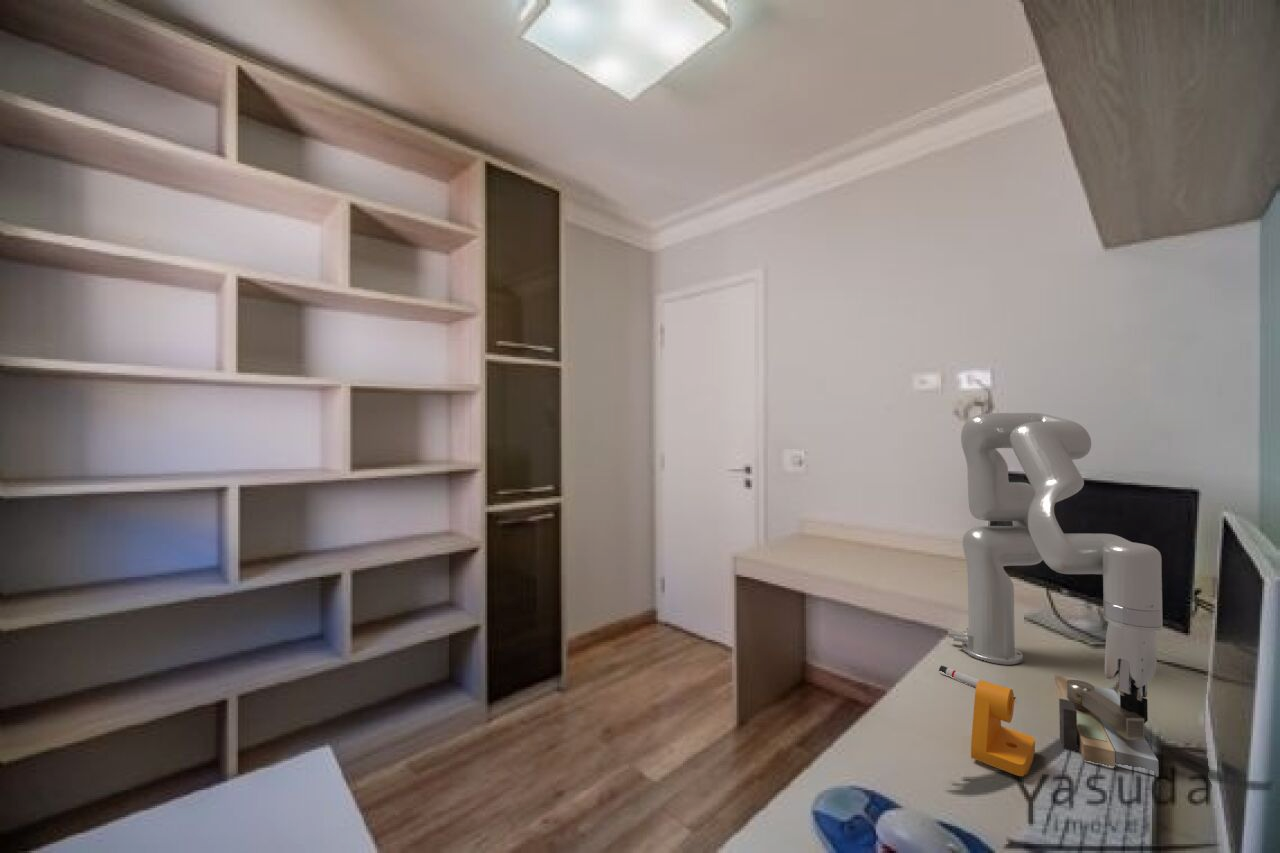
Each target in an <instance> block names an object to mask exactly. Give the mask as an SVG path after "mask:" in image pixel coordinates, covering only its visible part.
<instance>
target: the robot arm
mask: <svg viewBox="0 0 1280 853" xmlns="http://www.w3.org/2000/svg"><path fill="white" fill-rule="evenodd" d="M960 440H961V441H960V442H961V447H962V451H963V455H964V457H965V461H966V468H967V497H968V498H967V499H968V500H967V501H968V508H969V512H970V514H971V515H972V516H973V518H975V519H977V520H979V521H980V520H981V521H983V522H985V521H986V522H988V521H989V522H1012V525H1009V526H1008V525H1007V526H1005V525H1004V526H1003V525H982V526H977V527H973V528H970V529H969V530H967V531H966V532H964V535H963V537H962V548H963V552H964V558H965V562H966V569H967V595H968V597H967V601H968V602H967V603H968V604H967V605H968V607H967V609H968V610H967V613H968V615H967V616H968V628H966V630H962V631H956V630H953V629H948V630H947V638H949V639H950V638H951V639H953V641H955V642H957V643H958V642H961V649H962V648H963V650H964V651H966V652H967V653H968V654H970V655H972V656H973V657H972V656H971V657H972V658H974V657H975V658H974V659H977V658H978V659H977V660H979V659H981V660H980V661H982V660H984V661H983V662H986V661H987V663H990V662H991V663H990V664H997V665H1005V666H1006V665H1017V664H1020V663H1022V662H1023V661H1024V655H1023V653H1022V652H1021V651H1020V650H1019V649H1017V648H1016V644H1015V643H1016V641H1015V639H1016V638H1015V635H1016V634H1015V626H1016V624H1015V587H1014V583H1013V581H1012V579H1011V577H1010V576H1009V574H1008V573H1007V572H1006V571H1005V569H1004V567H1009V566H1035V565H1038V564H1040V563H1041V562H1042V561H1043V562H1044V563H1045V564H1046V565H1047V567H1049V569H1051V570H1053V571H1054V572H1056V573H1059V574H1064V575H1102V579H1103V580H1102V583H1103V584H1102V585H1103V586H1102V587H1103V588H1102V589H1103V591H1102V593H1103V595H1102V598H1103V601H1102V602H1103V620H1105V621H1107V627H1106V628H1107V629H1106V635H1105V649H1104V650H1105V651H1104V676H1105V678H1106V679H1108V680H1111V679H1114V678H1115V677H1116V676H1117V675H1118V682H1119V684H1118V691H1119V698H1120V707H1122V708H1124V709H1125V710H1127V711H1128V712H1135V713H1136V714H1138V715H1139V716H1141V717H1143V718H1144V725H1145V724H1147V722H1148V720H1149V719H1148V713H1149V712H1148V710H1149V709H1148V699H1147V697H1148V683H1149V682H1150V681H1151V680H1152V679H1153V678H1154V677H1155V675H1156V672H1157V665H1158V662H1157V661H1158V659H1157V654H1158V653H1157V636H1156V635H1157V633H1156V631H1162V630H1163V623H1164V622H1163V582H1162V581H1163V577H1162V573H1163V572H1162V571H1163V570H1162V567H1163V566H1162V555H1161V554H1162V553H1161V552H1160V550H1158V549H1157V548H1155V547H1154V546H1152V545H1149V544H1144V543H1139V542H1134V541H1133V542H1132V541H1130V540H1128V539H1126V538H1124V537H1122V536H1119V535H1117V534H1112V533H1085V532H1084V533H1081V532H1080V533H1078V532H1077V533H1065V532H1064V531H1063V530H1062V528H1061V526H1060V524H1059V522H1058V520H1057V518H1056V515H1055V505H1056V503H1058V502H1061V501H1063V500H1065V499H1068V498H1070V497H1072V496H1074V495H1075V494H1077V493H1079V491H1081V490H1082V489H1083V487H1084V485H1085V481H1084V478H1083V476H1082V474H1081V473H1080V471H1079V469H1078V467H1077V466H1076V464H1075V463H1074V460H1080V459H1083V458H1084V457H1086V456H1087V455H1088V454H1089V453H1090V451H1091V449H1092V439H1091V436H1090V434H1089V432H1088V431H1087V429H1086V428H1085V427H1084V426H1083V425H1081V424H1080V423H1078V422H1076V421H1074V420H1073V421H1072V420H1069V419H1065V418H1061V417H1057V416H1053V415H1049V414H1045V413H1039V412H990V413H981V414H977V415H974V416H972V417H969V419H967V420H966V421H965V423H964V425H963V426H962V429H961V433H960ZM998 449H1012V450H1013V452H1014V454H1015V457H1016V458H1017V460H1018V462H1019V464H1020V466H1021V468H1022V470H1023V472H1024V474H1025V477H1026V478H1027V479H1028V480H1027V481H1028V482H1029V483H1026V482H1022V481H1021V482H1018V481H1017V482H1015V481H1014V482H1013V481H1012V482H1011V481H1010V480H1009V467H1008V463H1007V461H1006V459H1005V457H1004V456H1003V455H1002V454H1001V453H1000V451H999V450H998ZM963 650H962V651H963ZM964 651H963V652H964ZM968 654H967V655H968ZM970 655H969V656H970Z"/></svg>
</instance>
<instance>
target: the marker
mask: <svg viewBox="0 0 1280 853" xmlns="http://www.w3.org/2000/svg"><path fill="white" fill-rule="evenodd" d="M939 671H942V672H944V673H945V674H947V675H950V676H952V677H954V678H956V679H958V680H960V681H962V682H964V683H967V684H969V685H971V686H970V687H972V686H973V688H974V687H975V689H976V686H977V683H978V681H979V680H980V679H979V678H976V677H974V676H971V675H969V674H966V673H963V672H961V671H959V670H955V669H953V668H951V667H947V666H944V665H940V667H939V668H938V672H939ZM962 682H961V683H962ZM964 683H963V684H964ZM967 684H966V685H967ZM969 685H968V686H969ZM1015 699H1016V696H1014V701H1015Z"/></svg>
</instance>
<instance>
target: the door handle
mask: <svg viewBox="0 0 1280 853" xmlns="http://www.w3.org/2000/svg"><path fill="white" fill-rule="evenodd" d="M1094 686H1095V685H1093V684H1091V683H1089V682H1086V681H1084V680H1080V679H1078V680H1068V681H1067V698H1068V699H1069V700H1070V701H1072V702H1074V703H1077V704H1080V705H1082V706H1084V707H1085V708H1087V709H1088V710H1090V711H1091V712H1092V713H1094V714H1095V715H1097V716H1098V717H1100V718H1101V719H1103V720H1104V721H1105V722H1107V723H1108V724H1110V725H1111V726H1113V727H1114V728H1115V729H1117V733H1118V734H1120V735H1121V736H1122V737H1124V738H1125V739H1127V740H1146V738H1145V724H1144V718H1143V717H1141V716H1139V715H1138V714H1136V713H1135V712H1128V711H1127V710H1125V709H1124V708H1122V707H1120V706H1119V705H1117V704H1116V703H1114V702H1113V701H1111V700H1109V699H1108V698H1106V697H1105V696H1103V695H1102V694H1100V693H1099V692H1097V691H1095V689H1094Z"/></svg>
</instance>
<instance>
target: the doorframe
mask: <svg viewBox="0 0 1280 853" xmlns="http://www.w3.org/2000/svg"><path fill="white" fill-rule="evenodd" d="M1068 680H1079V679H1077V678H1071V677H1068V676H1067V677H1066V676H1062V675H1061V676H1060V675H1056V674H1054V690H1055V693H1056V695H1057V698H1058V700H1059V701H1058V702H1059V703H1058V704H1059V705H1058V707H1059V708H1058V709H1059V711H1058V712H1059V739H1060V741H1061V744H1062V747H1063V749H1065V750H1069V751H1073V752H1078V751H1079V750H1080V751H1079V753H1080V752H1081V753H1080V755H1081V754H1082V756H1081V757H1083V758H1082V760H1083V759H1084V760H1086V761H1091V762H1094V763H1101V764H1104V765H1107V766H1109V765H1110V766H1115V763H1116V764H1121V765H1128V766H1132V767H1141V768H1145V769H1149V770H1152V771H1154V772H1155V774H1156V776H1155V777H1156V778H1159V774H1160V773H1159V760H1158V758H1157V757H1156V754H1155V753H1154V752H1153V749H1152V748H1151V747H1150V745H1149V744H1148V742H1147V740H1146V739H1145V740H1127V739H1125V738H1124V737H1122V736H1121V735H1120V734H1118V733H1117V729H1115V728H1114V727H1113V726H1111V725H1110V724H1108V723H1107V722H1105V721H1104V720H1103V719H1101V718H1100V717H1098V716H1097V715H1095V714H1094V713H1092V712H1091V711H1090V710H1088V709H1087V708H1085V707H1084V706H1082V705H1080V704H1077V703H1074V702H1072V701H1070V700H1069V699H1068V698H1067V681H1068ZM1093 686H1094V689H1095V691H1097V692H1099V693H1100V694H1102V695H1103V696H1105V697H1106V698H1108V699H1109V700H1111V701H1113V702H1114V703H1116V704H1117V705H1119V706H1120V696H1119V695H1118V693H1117V692H1116V690H1115V689H1111V688H1106V687H1100V686H1095V685H1093ZM1077 745H1078V746H1077ZM1078 747H1079V748H1078ZM1115 767H1116V766H1115Z"/></svg>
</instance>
